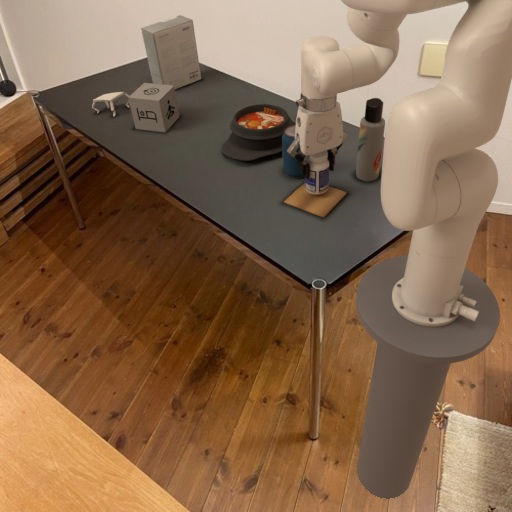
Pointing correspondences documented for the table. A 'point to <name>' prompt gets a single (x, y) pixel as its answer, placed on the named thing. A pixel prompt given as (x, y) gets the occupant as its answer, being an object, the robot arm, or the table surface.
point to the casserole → (256, 132)
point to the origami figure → (109, 100)
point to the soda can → (289, 163)
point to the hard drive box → (172, 52)
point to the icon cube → (154, 107)
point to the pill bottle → (318, 173)
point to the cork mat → (315, 200)
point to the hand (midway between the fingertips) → (317, 171)
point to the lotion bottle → (370, 141)
